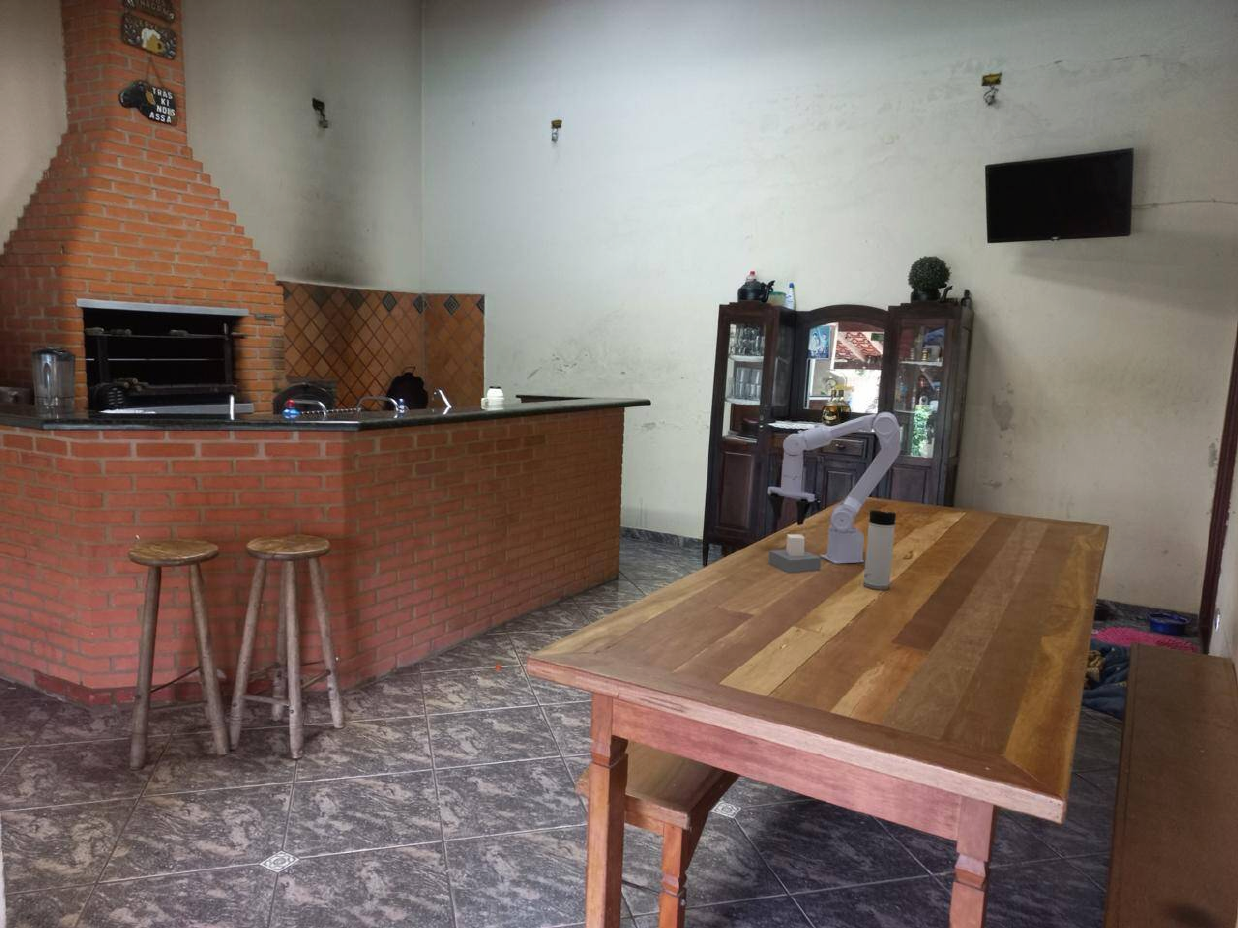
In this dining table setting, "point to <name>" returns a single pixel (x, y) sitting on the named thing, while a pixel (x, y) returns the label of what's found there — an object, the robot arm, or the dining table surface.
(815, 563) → the base block
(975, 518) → the dining table surface
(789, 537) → the top block
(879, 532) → the travel mug
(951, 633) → the dining table surface
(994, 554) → the dining table surface
